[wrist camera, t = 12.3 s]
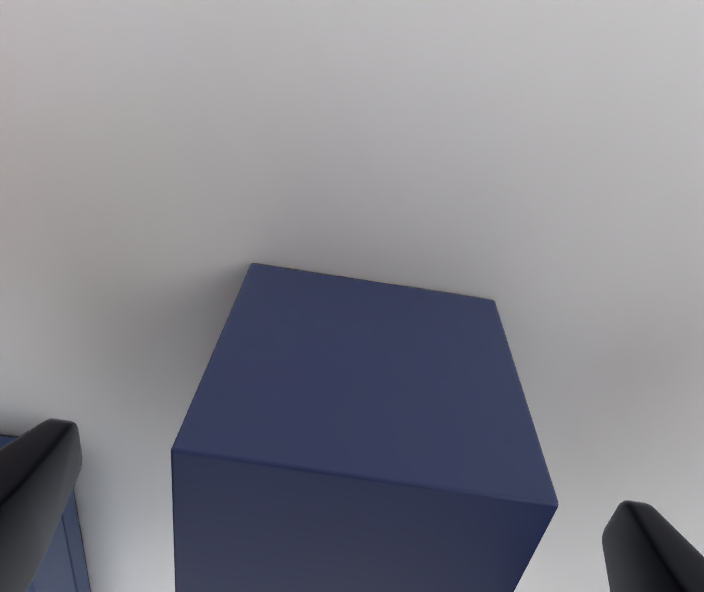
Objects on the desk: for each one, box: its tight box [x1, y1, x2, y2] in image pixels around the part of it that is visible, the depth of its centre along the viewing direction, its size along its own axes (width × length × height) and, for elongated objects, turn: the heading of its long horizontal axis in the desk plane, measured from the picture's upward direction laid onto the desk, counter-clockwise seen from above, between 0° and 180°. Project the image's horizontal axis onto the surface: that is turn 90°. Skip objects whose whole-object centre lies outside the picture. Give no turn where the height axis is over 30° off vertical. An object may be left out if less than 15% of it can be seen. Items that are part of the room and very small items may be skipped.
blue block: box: [171, 263, 558, 592], centre depth 9 cm, size 4×4×4 cm
